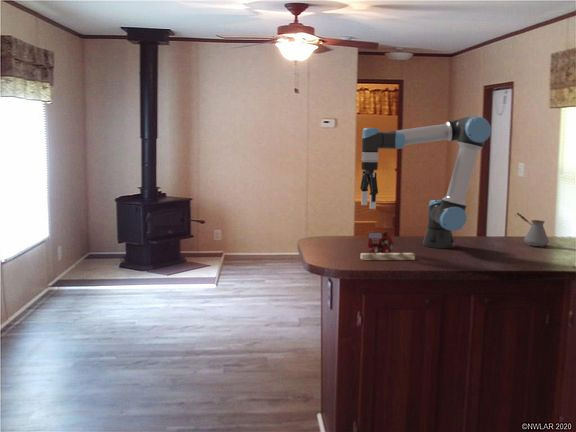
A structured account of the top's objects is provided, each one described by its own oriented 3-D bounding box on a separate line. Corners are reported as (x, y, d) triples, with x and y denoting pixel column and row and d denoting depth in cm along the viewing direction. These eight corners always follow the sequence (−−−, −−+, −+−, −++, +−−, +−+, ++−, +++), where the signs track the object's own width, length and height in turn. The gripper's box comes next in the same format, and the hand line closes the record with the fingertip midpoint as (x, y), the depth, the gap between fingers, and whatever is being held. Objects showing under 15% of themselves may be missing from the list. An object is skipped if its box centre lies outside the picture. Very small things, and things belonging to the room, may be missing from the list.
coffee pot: (553, 247, 302) (555, 218, 299) (535, 248, 298) (537, 218, 295) (522, 239, 321) (525, 212, 319) (505, 240, 317) (507, 212, 315)
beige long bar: (412, 258, 267) (412, 252, 266) (414, 259, 264) (415, 253, 263) (360, 258, 263) (360, 252, 263) (362, 260, 260) (362, 254, 260)
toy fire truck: (394, 255, 272) (395, 233, 271) (368, 255, 271) (369, 232, 270) (390, 252, 279) (391, 230, 278) (364, 252, 278) (365, 230, 276)
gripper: (354, 159, 287) (353, 203, 290) (369, 162, 263) (368, 210, 266) (369, 159, 289) (368, 203, 292) (386, 163, 264) (384, 210, 267)
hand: (368, 206), depth 279 cm, fingers open, 13 cm apart
